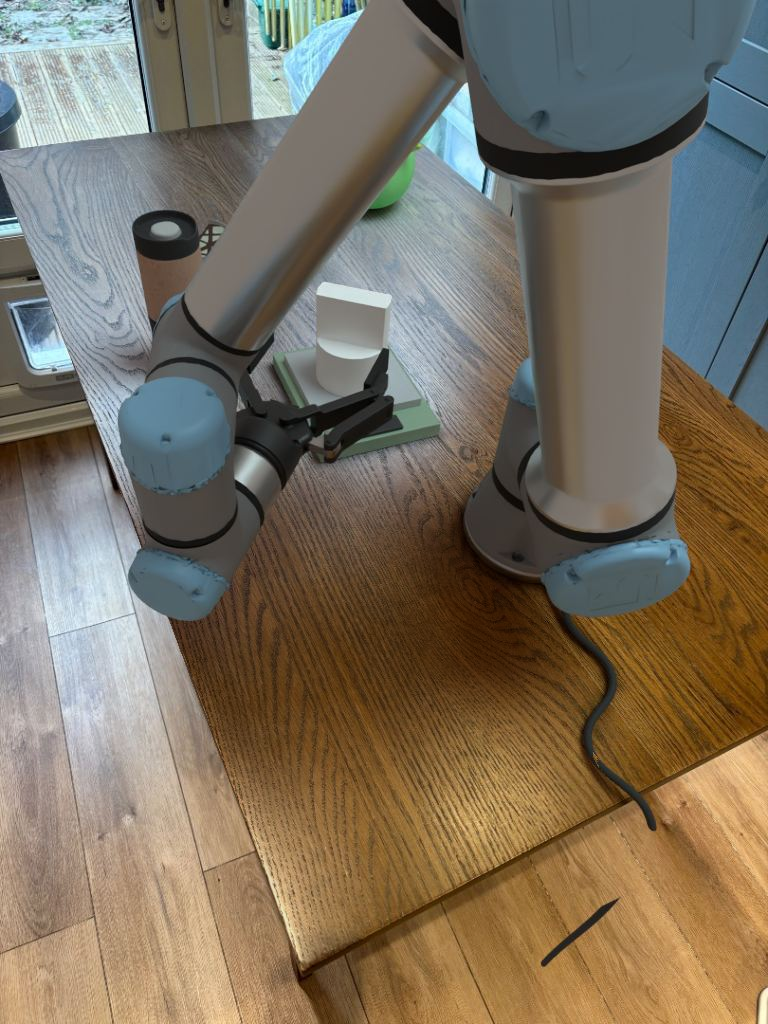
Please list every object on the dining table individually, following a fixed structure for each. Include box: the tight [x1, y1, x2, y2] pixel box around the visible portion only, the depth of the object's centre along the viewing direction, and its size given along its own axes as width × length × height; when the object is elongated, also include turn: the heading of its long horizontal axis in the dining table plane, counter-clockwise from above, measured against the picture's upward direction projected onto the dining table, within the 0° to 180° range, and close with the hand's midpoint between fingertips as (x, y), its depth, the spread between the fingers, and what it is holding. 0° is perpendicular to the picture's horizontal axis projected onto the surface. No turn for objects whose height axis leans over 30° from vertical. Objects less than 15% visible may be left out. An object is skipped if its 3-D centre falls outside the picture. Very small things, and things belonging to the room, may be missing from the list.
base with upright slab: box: [315, 281, 393, 397], centre depth 93 cm, size 9×9×12 cm
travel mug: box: [131, 209, 202, 333], centre depth 95 cm, size 8×8×20 cm
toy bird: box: [368, 142, 422, 210], centre depth 131 cm, size 18×17×15 cm
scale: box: [272, 344, 441, 464], centre depth 99 cm, size 20×16×3 cm
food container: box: [199, 217, 227, 263], centre depth 109 cm, size 12×6×10 cm, turn 168°
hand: (327, 344), depth 83 cm, fingers open, 13 cm apart
